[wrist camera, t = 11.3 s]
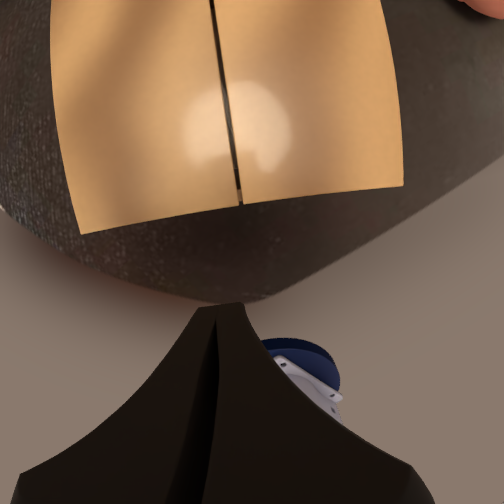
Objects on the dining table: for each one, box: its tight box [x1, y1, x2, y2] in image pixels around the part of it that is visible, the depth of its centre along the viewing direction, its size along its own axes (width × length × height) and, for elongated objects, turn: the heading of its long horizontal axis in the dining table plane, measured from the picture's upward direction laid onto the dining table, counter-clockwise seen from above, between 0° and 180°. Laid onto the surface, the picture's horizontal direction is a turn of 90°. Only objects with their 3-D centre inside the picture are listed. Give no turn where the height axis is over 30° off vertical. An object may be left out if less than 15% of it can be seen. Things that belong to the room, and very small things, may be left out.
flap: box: [214, 0, 403, 204], centre depth 9 cm, size 6×11×1 cm, turn 8°
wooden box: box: [50, 0, 243, 234], centre depth 12 cm, size 13×11×7 cm
